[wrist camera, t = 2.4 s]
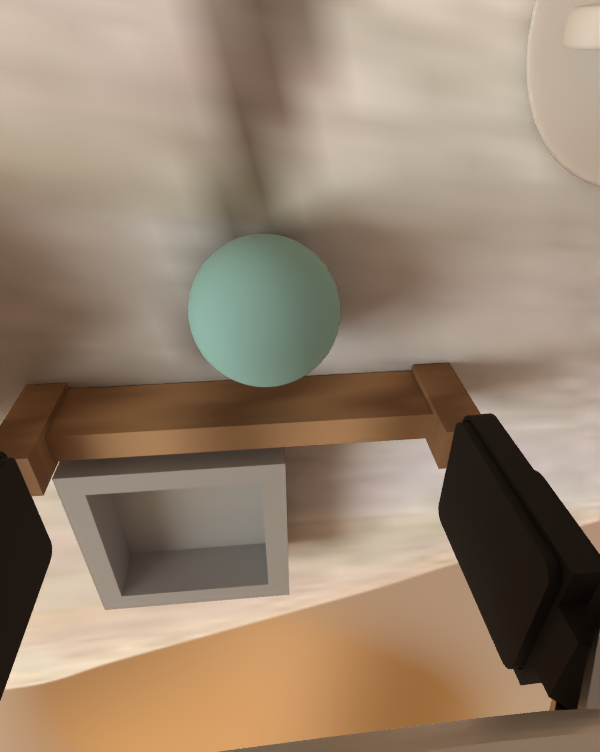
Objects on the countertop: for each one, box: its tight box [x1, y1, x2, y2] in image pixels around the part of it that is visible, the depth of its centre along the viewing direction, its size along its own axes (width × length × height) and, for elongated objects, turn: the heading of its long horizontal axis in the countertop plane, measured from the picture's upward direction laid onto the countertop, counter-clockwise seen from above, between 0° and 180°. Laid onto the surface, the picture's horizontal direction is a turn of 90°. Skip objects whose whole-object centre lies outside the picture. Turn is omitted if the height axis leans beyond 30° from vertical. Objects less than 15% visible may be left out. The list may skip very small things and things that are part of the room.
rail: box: [0, 363, 480, 496], centre depth 20 cm, size 18×2×4 cm, turn 90°
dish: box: [52, 447, 289, 610], centre depth 23 cm, size 9×9×3 cm
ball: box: [188, 234, 341, 387], centre depth 17 cm, size 5×5×5 cm
